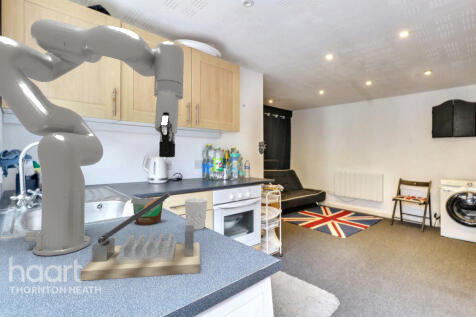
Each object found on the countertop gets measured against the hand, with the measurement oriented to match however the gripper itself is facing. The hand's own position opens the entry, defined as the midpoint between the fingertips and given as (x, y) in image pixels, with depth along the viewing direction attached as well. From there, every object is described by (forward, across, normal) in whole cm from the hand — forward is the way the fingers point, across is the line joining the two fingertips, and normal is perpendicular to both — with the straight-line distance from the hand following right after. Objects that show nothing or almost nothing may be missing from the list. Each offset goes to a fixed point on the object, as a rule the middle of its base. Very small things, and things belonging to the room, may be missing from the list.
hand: (167, 156), depth 63 cm
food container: (+26, -26, -10) cm, 38 cm away
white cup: (+26, -20, +8) cm, 34 cm away
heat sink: (+24, +7, -4) cm, 25 cm away
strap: (+15, +7, -6) cm, 17 cm away
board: (+26, +7, -3) cm, 27 cm away
